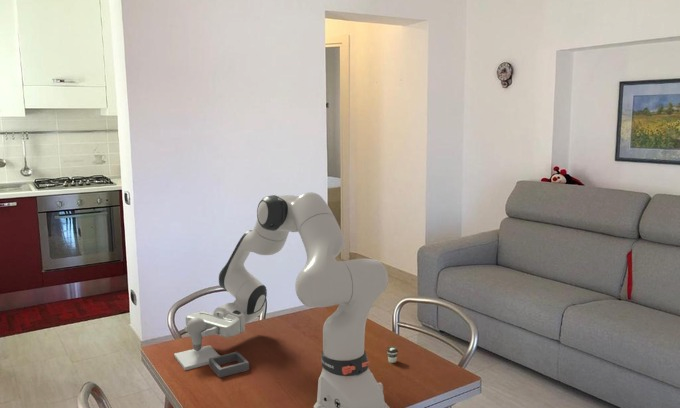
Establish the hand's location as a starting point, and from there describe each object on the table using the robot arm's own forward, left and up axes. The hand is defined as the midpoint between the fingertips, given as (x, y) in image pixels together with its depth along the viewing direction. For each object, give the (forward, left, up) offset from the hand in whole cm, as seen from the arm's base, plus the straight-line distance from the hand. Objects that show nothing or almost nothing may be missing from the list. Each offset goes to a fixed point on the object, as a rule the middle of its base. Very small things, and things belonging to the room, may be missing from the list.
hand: (194, 331), depth 179 cm
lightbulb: (0, -1, -7) cm, 7 cm away
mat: (0, -1, -9) cm, 9 cm away
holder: (-12, -7, -9) cm, 16 cm away
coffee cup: (-36, -52, -10) cm, 63 cm away
